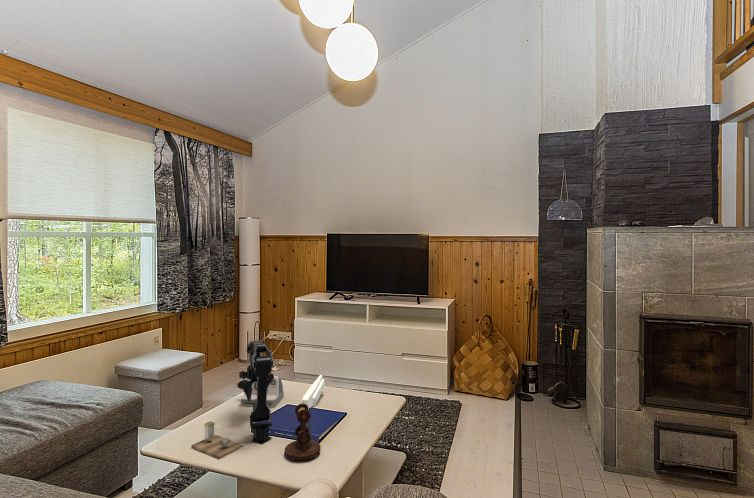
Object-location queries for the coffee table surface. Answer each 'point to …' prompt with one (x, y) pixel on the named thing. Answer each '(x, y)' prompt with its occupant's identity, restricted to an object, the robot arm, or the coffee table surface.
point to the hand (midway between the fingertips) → (256, 397)
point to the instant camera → (273, 394)
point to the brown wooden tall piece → (302, 437)
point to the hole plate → (217, 446)
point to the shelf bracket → (314, 392)
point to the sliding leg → (209, 430)
